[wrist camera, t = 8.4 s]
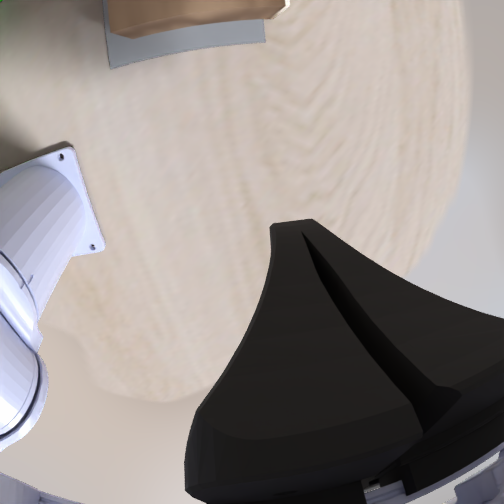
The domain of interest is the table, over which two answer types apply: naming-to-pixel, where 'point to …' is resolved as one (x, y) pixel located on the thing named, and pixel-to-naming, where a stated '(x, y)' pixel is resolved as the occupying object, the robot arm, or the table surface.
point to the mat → (180, 39)
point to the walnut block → (184, 14)
